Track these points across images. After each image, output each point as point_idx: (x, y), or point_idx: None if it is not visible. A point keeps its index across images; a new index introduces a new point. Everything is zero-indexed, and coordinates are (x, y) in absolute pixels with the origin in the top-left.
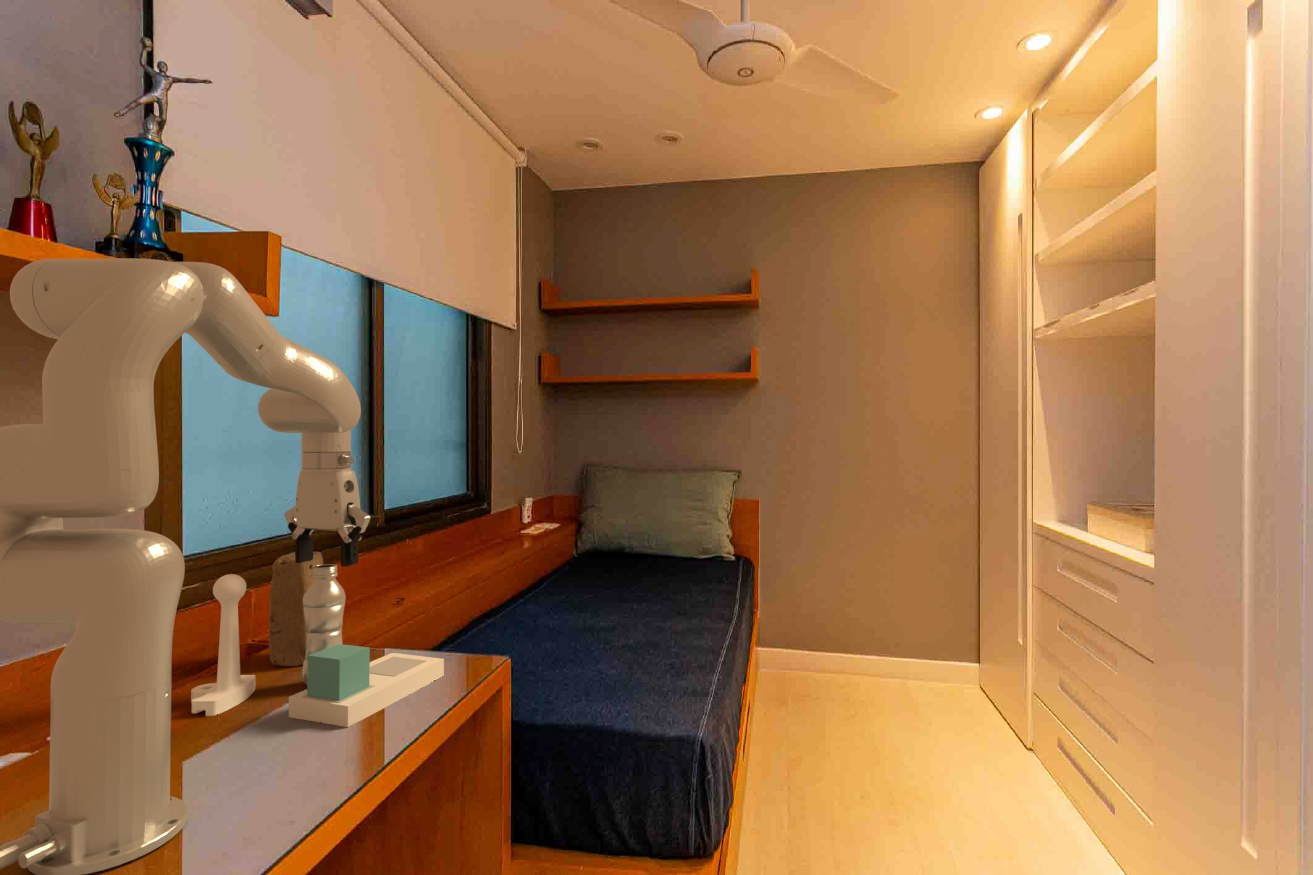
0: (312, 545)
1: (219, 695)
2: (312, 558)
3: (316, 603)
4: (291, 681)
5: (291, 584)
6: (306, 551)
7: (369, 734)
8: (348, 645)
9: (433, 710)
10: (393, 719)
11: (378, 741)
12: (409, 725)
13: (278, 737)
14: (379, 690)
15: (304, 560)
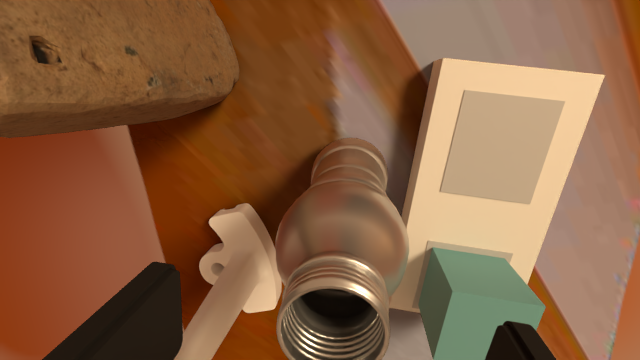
0: (117, 340)
1: (264, 292)
2: (177, 276)
3: (358, 301)
4: (280, 164)
5: (82, 121)
6: (147, 352)
7: (541, 320)
8: (483, 299)
9: (613, 238)
10: (555, 275)
11: (565, 336)
12: (592, 290)
13: (417, 338)
14: (531, 267)
15: (178, 319)
